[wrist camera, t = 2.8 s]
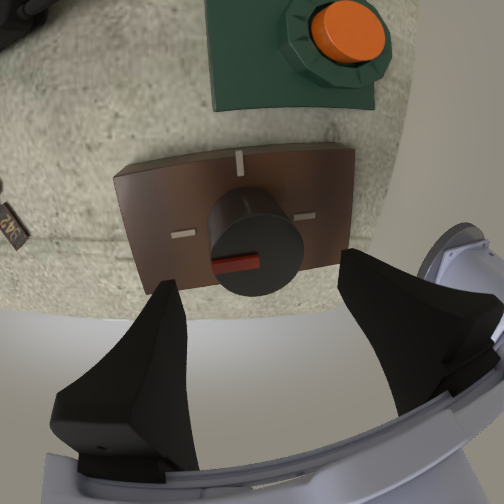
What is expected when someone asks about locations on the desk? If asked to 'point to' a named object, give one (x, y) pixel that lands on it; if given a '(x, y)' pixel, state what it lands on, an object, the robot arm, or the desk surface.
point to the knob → (252, 243)
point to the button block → (282, 58)
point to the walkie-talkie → (21, 18)
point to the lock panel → (218, 184)
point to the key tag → (11, 228)
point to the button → (348, 32)
